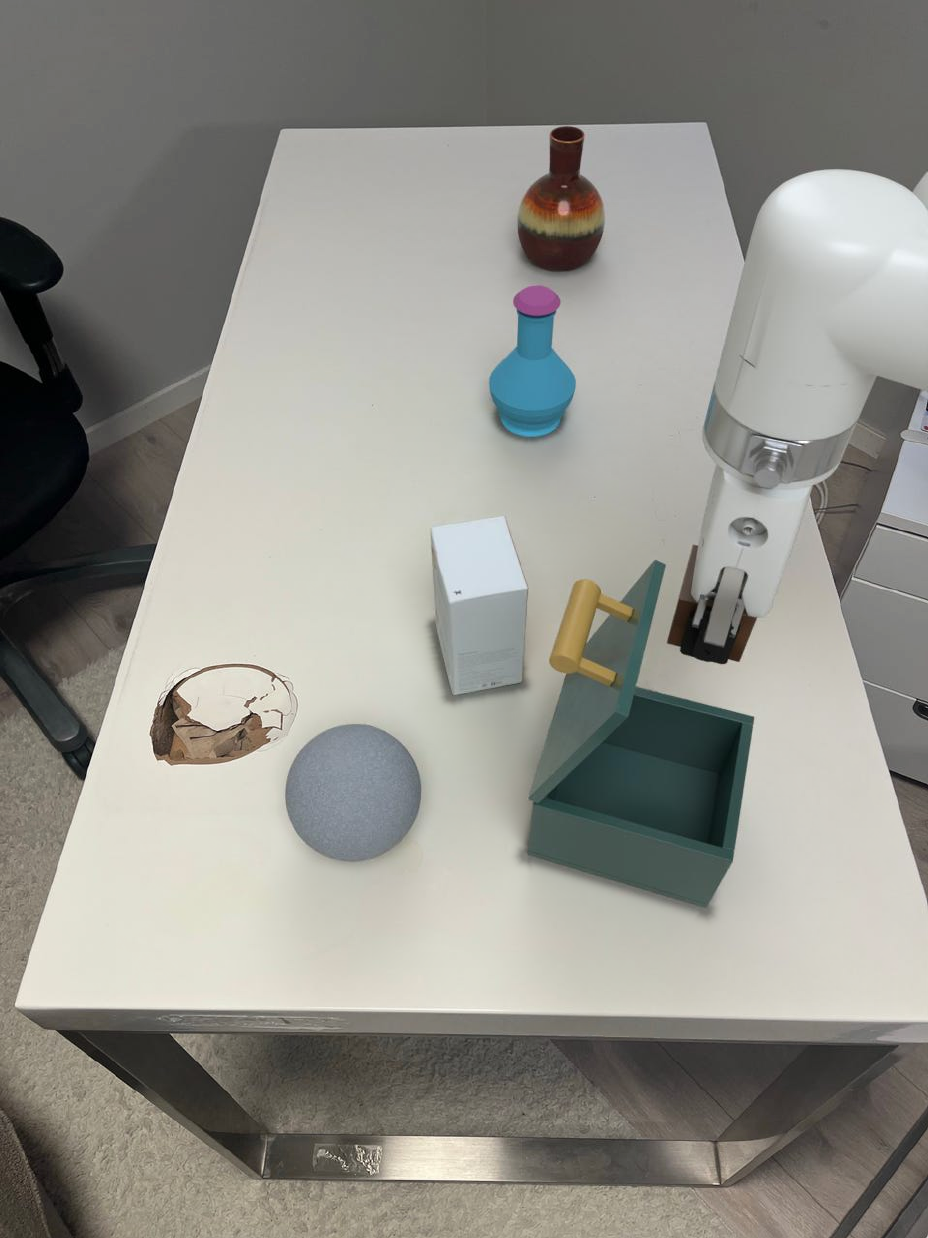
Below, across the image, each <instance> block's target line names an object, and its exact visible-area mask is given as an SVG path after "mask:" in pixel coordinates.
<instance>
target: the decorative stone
mask: <svg viewBox="0 0 928 1238" xmlns="http://www.w3.org/2000/svg"><path fill="white" fill-rule="evenodd" d="M284 798H285V799H284V800H285V807H286V813H287V815H288V819H289V821H290V824H291V826H292V827H293V830H294V831H295V833H296V834H297V836H298V837H299V838H300V839H301V840H302V841H303V842H304V843H305V844H306V845H307V846H308V847H310V848H311V849H312V850H313V851H315V852H317V853H318V854H320V855H322V856H324V857H327V858H329V859H332V860H335V861H339V862H349V863H350V862H352V863H353V862H363V861H367V860H368V861H369V860H372V859H374V858H377V857H379V856H382V855H383V854H386V853H387V852H389V851H390V850H392V849H393V848H394V847H396V846H397V845H398V844H399V843H401V841H402V840H403V839H404V838H405V837H406V836H407V835H408V833H409V831H410V830H411V829H412V827H413V825H414V823H415V821H416V819H417V817H418V813H419V810H420V807H421V800H422V783H421V776H420V772H419V769H418V766H417V764H416V762H415V759H414V757H413V756H412V754H411V753H410V751H409V750H408V748H407V747H405V745H404V744H403V743H402V742H401V741H400V740H398V739H397V738H396V737H395V736H393V735H392V734H390V733H389V732H387V731H385V730H383V729H382V728H379V727H376V726H373V725H369V724H362V723H350V724H349V723H348V724H341V725H338V726H334V727H332V728H331V727H330V728H329V729H327V730H325V731H322V732H321V733H319V734H316V736H314V737H313V738H312V739H310V740H309V741H308V742H307V743H306V744H304V746H303V747H302V748H301V750H300V751H299V752H298V753H297V754H296V756H295V758H294V760H293V761H292V763H291V765H290V768H289V770H288V773H287V777H286V783H285V791H284Z"/></svg>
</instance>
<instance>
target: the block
mask: <svg viewBox="0 0 928 1238" xmlns="http://www.w3.org/2000/svg"><path fill="white" fill-rule="evenodd" d="M697 550H698V544H692V547H691V551H690V554H689V556H688V562H687V565H686V568H685V571H684V576H683V579H682V583H681V586H680V590H679V594H678V597H677V602H676V604H675V605H676V606H675V609H674V613H673V616H672V621H671V624H670V629H669V633H668V636H667V640H666V645H667V644H668V645H672V646H675V647H679V648H680V647H681V644H682V640H683V637H684V634H685V630H686V627H687V624H688V620H689V617H690V614H691V612H693V613H695V611H696V608H697V604H698V603H697V602H696V601H695V599H694V598H693V597H692V595H691V589H692V582H693V575H694V569H695V563H696V557H697ZM717 583H718V584H719V582H717ZM713 603H714V600H711V599H708V602H707V606H706V609H705V610H707V611H712V607H713ZM757 620H758V617H753V616H748V614H747V611H746V608H744V611H743V614H742V617H741V620H740V623H739V624H741V625H740V630H739V633H738V636H737V638H736V641H735V643H734V646H733V649H732V651H731V654H730V657H729V659H728V661H733V662H736V663H740V662H741V659H742V657H743V654H744V652H745V650H746V647H747V645H748V642H749V639H750V637H751V635H752V632H753V630H754V628H755V624H756V622H757Z"/></svg>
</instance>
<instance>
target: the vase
mask: <svg viewBox="0 0 928 1238" xmlns="http://www.w3.org/2000/svg"><path fill="white" fill-rule="evenodd" d="M585 136H586V135H585V132H584V131H583V130H582V129H580V128H579V127H577V126H572V125H571V126H569V125H564V126H563V125H562V126H557V127H555V128H553V129H552V130H551V131H550V133H549V169H548V173H546V174H544V175H542V176H541V177H539V178H538V179H537V180H535V181H534V182H533V183H532V184H531V185H530V186H529V187H528V189H527V190H526V191H525V193H524V195H523V197H522V198H521V201H520V204H519V207H518V212H517V220H516V222H517V223H516V225H517V234H518V235H517V236H518V239H519V242H520V245H521V249H522V250H523V252H524V254H525V256H526V257H527V258H528V260H530V261H531V263H533V264H534V265H536V266H537V267H539V268H542V269H544V270H547V271H552V272H553V271H555V272H566V271H572V270H574V269H577V268H580V267H581V266H583V265H584V264H586V263H587V262H588V261H589V260H590V259H591V258H592V257H593V255H595V253H596V252H597V250H598V248H599V245H600V244H601V241H602V237H603V234H604V230H605V222H606V211H605V206H604V201H603V198H602V197H601V194H600V192H599V190H598V189H597V188H596V186H595V185H594V184H593V183H592V182H591V181H590V180H589V179H588V178H587V177H586V176H584V175H582V174H581V165H582V164H581V163H582V156H583V150H584V143H585Z"/></svg>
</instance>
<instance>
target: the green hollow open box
mask: <svg viewBox="0 0 928 1238" xmlns="http://www.w3.org/2000/svg"><path fill="white" fill-rule="evenodd" d="M754 724H755V716H754V715H749V714H745V713H743V712H742V713H741V712H737V711H734V710H731V709H726V708H722V707H718V706H714V705H710V704H705V703H702V702H698V701H695V700H691V699H687V698H682V697H678V696H675V695H671V694H667V693H663V692H659V691H656V690H650V689H647V688H644V687H639V686H636V688H635V692H634V696H633V700H632V704H631V708H630V712H629V716H628V718H627V719H626V720H625V721H624V722H623V723H622V724H620V725H619V726H618V727H617V728H616V729H615V730H614V731H613V732H612V733H611V734H610V735H609V736H608V737H607V738H606V739H605V740H604V741H603V742H602V743H601V744H600V745H599V746H598V747H597V748H595V749H594V750H593V751H592V752H591V753H590V754H589V755H588V756H587V757H586V758H585V759H584V760H583V761H582V762H581V763H580V764H579V765H578V766H577V767H576V768H575V769H574V770H573V771H572V772H570V773H569V774H568V775H567V776H566V777H565V778H564V779H563V780H562V781H561V782H560V783H559V784H558V785H557V786H556V787H555V788H554V789H553V790H552V791H551V792H550V793H549V794H548V795H547V796H545V797H544V798H543V799H542V800H541V801H540V802H539V803H536V802H533V801H532V806H531V807H532V808H531V818H530V829H529V836H528V837H529V838H528V846H527V855H528V856H531V857H534V858H537V859H540V860H544V861H547V862H551V863H554V864H558V865H561V866H564V867H566V868H571V869H574V870H578V871H581V872H583V873H584V872H585V873H588V874H591V875H595V876H598V877H601V878H604V879H608V880H612V881H614V882H618V883H621V884H624V885H627V886H632V887H635V888H638V889H641V890H645V891H648V892H652V893H655V894H658V895H661V896H665V897H667V898H671V899H674V900H678V901H681V902H685V903H687V904H691V905H694V906H699V907H702V908H705V909H707V907H708V906H709V904H710V902H711V901H712V899H713V898H714V896H715V894H716V892H717V890H718V888H719V887H720V885H721V883H722V881H723V879H724V878H725V876H726V874H727V872H728V871H729V869H730V868H731V866H732V864H733V862H734V857H735V849H736V843H737V837H738V830H739V823H740V817H741V810H742V803H743V797H744V791H745V790H744V789H745V784H746V783H745V782H746V777H747V770H748V769H747V768H748V763H749V758H750V757H749V756H750V750H751V743H752V737H753V730H754Z"/></svg>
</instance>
